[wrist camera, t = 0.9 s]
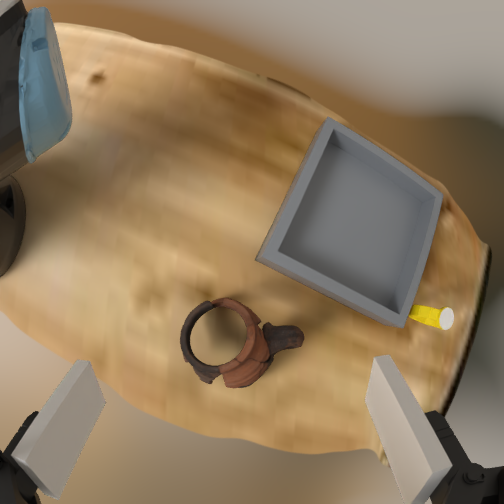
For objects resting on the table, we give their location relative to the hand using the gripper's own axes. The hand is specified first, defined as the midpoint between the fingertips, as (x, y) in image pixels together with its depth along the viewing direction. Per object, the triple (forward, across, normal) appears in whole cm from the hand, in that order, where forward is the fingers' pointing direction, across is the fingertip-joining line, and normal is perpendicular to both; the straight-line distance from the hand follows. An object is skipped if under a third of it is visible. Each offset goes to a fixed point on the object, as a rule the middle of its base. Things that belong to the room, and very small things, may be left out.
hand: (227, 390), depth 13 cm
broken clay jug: (+19, -1, -9) cm, 21 cm away
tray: (+26, +14, +1) cm, 29 cm away
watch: (+23, +23, -10) cm, 34 cm away
